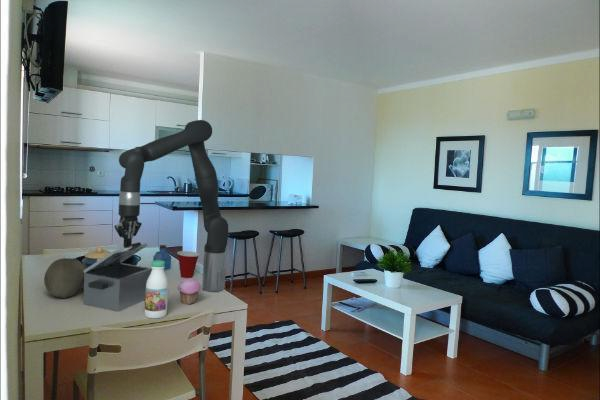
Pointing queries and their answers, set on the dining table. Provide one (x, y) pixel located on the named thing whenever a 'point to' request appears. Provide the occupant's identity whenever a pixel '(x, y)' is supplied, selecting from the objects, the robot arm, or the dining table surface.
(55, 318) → the dining table surface
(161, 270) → the milk bottle
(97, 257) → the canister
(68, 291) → the cantaloupe
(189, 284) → the cupcake
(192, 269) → the plastic cup
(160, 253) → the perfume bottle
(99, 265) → the box lid
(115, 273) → the grey storage box
